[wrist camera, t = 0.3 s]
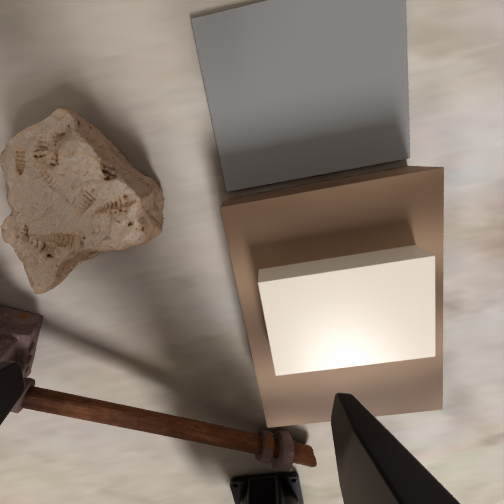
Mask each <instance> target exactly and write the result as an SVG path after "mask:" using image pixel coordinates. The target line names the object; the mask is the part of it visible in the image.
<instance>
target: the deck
mask: <svg viewBox="0 0 504 504" xmlns="http://www.w3.org/2000/svg"><path fill="white" fill-rule="evenodd" d="M220 210H221V215H222V219H223V224H224V229H225V233H226V238H227V243H228V247H229V252H230V257H231V261H232V266H233V271H234V275H235V280H236V284H237V289H238V294H239V298H240V303H241V308H242V312H243V317H244V322H245V326H246V331H247V336H248V340H249V345H250V350H251V354H252V359H253V363H254V368H255V373H256V377H257V382H258V387H259V391H260V396H261V401H262V405H263V410H264V415H265V419H266V424H267V428H270V427H279V426H289V425H298V424H308V423H317V422H327V421H331V414H332V408H333V403H334V398H335V394H336V393H337V392H345V393H351V394H352V395H354V396H355V397H356V398H357V399H358V400H359V401H360V403H361V404H362V405H363V406H364V407H365V408H366V409H367V410H368V411H369V412H370V413H371V414H372V415H373V416H374V417H375V416H384V415H394V414H403V413H413V412H422V411H432V410H441V409H442V406H443V211H444V167H421V166H405V167H400V168H394V169H389V170H383V171H378V172H372V173H367V174H361V175H356V176H350V177H345V178H339V179H334V180H328V181H323V182H317V183H312V184H306V185H301V186H295V187H290V188H284V189H279V190H273V191H268V192H262V193H257V194H251V195H246V196H240V197H235V198H229V199H228V200H227V201H226V202H225V203H224V204H223V205H222V206H221V207H220ZM411 245H417V246H419V247H420V248H422V249H424V250H426V251H428V252H429V253H431V254H433V255H435V357H428V358H419V359H411V360H403V361H395V362H386V363H378V364H370V365H362V366H353V367H345V368H337V369H329V370H320V371H312V372H304V373H296V374H288V375H279V376H276V374H275V369H274V364H273V359H272V353H271V348H270V343H269V338H268V333H267V327H266V322H265V317H264V312H263V306H262V301H261V296H260V291H259V286H258V274H259V269H265V268H271V267H277V266H284V265H290V264H297V263H303V262H309V261H316V260H322V259H328V258H335V257H341V256H348V255H354V254H360V253H367V252H373V251H379V250H386V249H392V248H399V247H405V246H411Z"/></svg>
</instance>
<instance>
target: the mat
mask: <svg viewBox="0 0 504 504" xmlns="http://www.w3.org/2000/svg"><path fill="white" fill-rule="evenodd" d="M191 22H192V27H193V32H194V37H195V41H196V46H197V51H198V56H199V61H200V66H201V71H202V75H203V80H204V85H205V90H206V95H207V100H208V105H209V110H210V114H211V119H212V124H213V129H214V134H215V139H216V144H217V148H218V153H219V158H220V163H221V168H222V173H223V178H224V182H225V187H226V192H228V191H234V190H239V189H245V188H250V187H256V186H261V185H266V184H272V183H277V182H283V181H288V180H294V179H299V178H304V177H310V176H315V175H321V174H326V173H332V172H337V171H342V170H348V169H353V168H359V167H364V166H370V165H375V164H380V163H386V162H391V161H397V160H402V159H408V158H410V135H409V97H408V60H407V22H406V0H266V1H262V2H258V3H254V4H250V5H246V6H242V7H238V8H234V9H230V10H226V11H221V12H217V13H213V14H209V15H205V16H201V17H197V18H193V19H191Z"/></svg>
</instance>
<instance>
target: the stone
mask: <svg viewBox="0 0 504 504" xmlns="http://www.w3.org/2000/svg"><path fill="white" fill-rule="evenodd" d="M0 164H1V167H2V169H3V171H4V177H5V179H6V184H7V188H8V195H7V198H8V202H9V205H10V206H11V207H12V209H13V211H12V213H11V215H9V216H8V217H7V218H6V219H5V221H4V222H3V224H2V225H1V229H2V237H3V240H4V241H5V242H6V243H9V244H10V245H11V246H13V248H14V251H15V253H16V254H17V256H18V257H19V259H20V260H21V261H22V263H23V264H24V268H25V271H26V273H27V276H28V279H29V282H30V285H31V287H32V288H33V290H34V292H35V293H36V294H42V293H45V292H47V291H49V290H51V289H53V288H54V287H56V286H57V285H59V284H60V283H61V282H62V281H63V280H64V279H65V278H66V277H67V276H68V274H69V273H70V272H71V271H72V270H73V268H75V267H76V266H77V265H78V264H79V263H80V262H82V261H84V260H87V259H90V258H93V257H94V256H96V255H97V254H98V253H100V252H107V251H122V250H124V249H126V248H128V247H131V246H134V245H139V244H145V243H147V242H148V241H149V240H151V239H152V238H155V237H156V236H157V235H158V234H159V233H160V232H161V231H162V223H163V219H164V218H163V213H162V211H163V206H164V196H163V193H162V190H161V189H160V188H159V186H158V185H157V183H156V182H155V180H153V179H152V178H151V177H149V176H144V175H143V174H142V173H141V172H140V171H138V170H136V169H135V168H134V167H133V166H132V165H131V164H130V162H129V161H128V160H127V159H126V158H125V157H124V156H123V155H122V154H121V152H120V151H119V150H118V149H117V147H116V146H115V145H114V144H113V143H112V142H111V141H110V140H109V139H107V138H106V137H105V135H104V134H103V133H102V132H101V131H100V130H99V129H98V128H97V127H95V126H94V125H93V124H91V123H89V122H88V121H86V120H85V119H84V118H83V117H82V116H81V115H79V114H77V113H76V112H75V111H73V110H72V109H70V108H57V109H55V110H54V112H53V113H52V114H51V115H49V116H48V117H47V118H45V119H43V120H41V121H40V122H38V123H36V124H33V125H31V126H29V127H27V128H25V129H23V130H21V131H20V132H18V133H17V134H16V135H14V136H13V137H12V138H11V139H10V140H8V141H7V142H6V147H5V150H4V151H3V152H2V154H1V157H0Z"/></svg>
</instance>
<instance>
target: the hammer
mask: <svg viewBox="0 0 504 504" xmlns="http://www.w3.org/2000/svg"><path fill="white" fill-rule="evenodd" d="M42 320H43V316H41V315H38V314H33V313H29V312H24V311H20V310H16V309H11V308H7V307H2V306H0V362H2V361H13V362H18V363H20V365H21V367H22V373H23V378H24V384H25V387H24V391H23V394H22V395H21V397H20V398H19V400H18V401H17V402H16V404H15V405H14V407H13V408H12V409H11V411H10V412H15V413H19V412H20V411H21V410H22V409H23V408H26V409H31V410H36V411H41V412H46V413H52V414H57V415H62V416H67V417H72V418H77V419H82V420H87V421H93V422H98V423H103V424H108V425H113V426H118V427H123V428H128V429H133V430H138V431H144V432H149V433H154V434H159V435H164V436H169V437H174V438H179V439H184V440H189V441H194V442H199V443H204V444H209V445H214V446H219V447H224V448H229V449H233V450H238V451H243V452H248V453H253V454H255V457H256V459H257V460H258V461H260V462H262V463H264V464H269V463H270V464H271V466H272V468H273V469H274V470H282V471H289V470H290V469H291V467H292V464H293V463H297V464H301V465H306V466H310V467H315V466H316V465H317V462H316V458H315V456H314V453H313V449H312V447H311V446H309V445H305V444H300V443H296V442H293V439H292V436H291V435H290V433H289V432H287V431H283V430H281V431H276V432H275V433H274V434H273V435H272V433H271V431H269V430H263V429H260V430H259V431H258V432H257V434H256V433H251V432H247V431H242V430H238V429H233V428H229V427H224V426H220V425H215V424H210V423H206V422H201V421H197V420H192V419H187V418H183V417H178V416H173V415H169V414H164V413H159V412H154V411H150V410H145V409H140V408H135V407H131V406H126V405H121V404H116V403H111V402H107V401H102V400H97V399H92V398H87V397H82V396H78V395H73V394H68V393H63V392H58V391H53V390H48V389H44V388H39V387H34V386H35V380H34V379H31V378H26V377H27V376H28V375H29V374H30V373H31V367H32V363H33V359H34V356H35V351H36V345H37V341H38V336H39V332H40V328H41V324H42Z"/></svg>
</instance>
